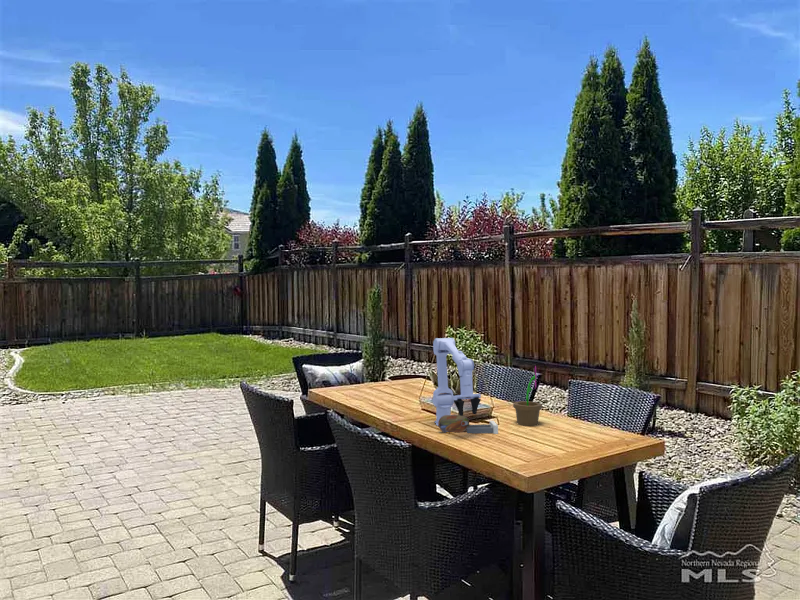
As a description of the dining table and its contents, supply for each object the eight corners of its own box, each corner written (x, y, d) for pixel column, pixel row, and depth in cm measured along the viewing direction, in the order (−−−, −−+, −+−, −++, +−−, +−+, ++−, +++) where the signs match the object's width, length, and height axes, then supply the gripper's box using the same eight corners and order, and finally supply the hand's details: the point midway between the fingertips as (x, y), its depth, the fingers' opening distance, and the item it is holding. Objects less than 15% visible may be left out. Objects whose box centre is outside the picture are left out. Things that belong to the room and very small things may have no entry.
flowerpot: (542, 427, 292) (542, 367, 291) (513, 426, 295) (513, 366, 294) (541, 421, 306) (541, 363, 305) (513, 420, 309) (513, 363, 308)
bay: (464, 429, 289) (464, 421, 289) (493, 428, 289) (493, 420, 289) (467, 434, 279) (467, 425, 279) (497, 433, 279) (498, 425, 279)
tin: (439, 433, 280) (439, 416, 280) (437, 432, 284) (437, 414, 283) (469, 432, 283) (469, 414, 283) (467, 430, 286) (467, 413, 286)
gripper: (458, 386, 267) (460, 416, 266) (484, 384, 275) (485, 414, 274) (449, 386, 273) (451, 415, 272) (474, 384, 281) (476, 412, 280)
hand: (467, 414), depth 273 cm, fingers open, 7 cm apart
